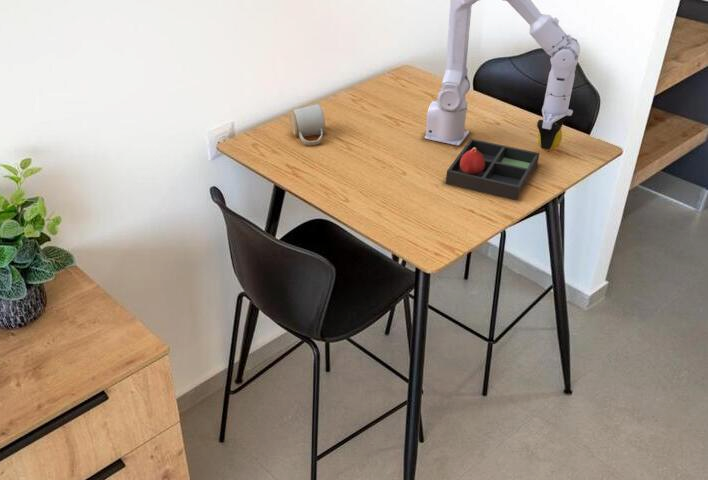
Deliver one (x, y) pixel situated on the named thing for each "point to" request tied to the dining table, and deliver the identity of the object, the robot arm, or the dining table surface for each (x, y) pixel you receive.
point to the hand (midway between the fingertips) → (548, 142)
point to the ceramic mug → (308, 123)
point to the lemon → (555, 143)
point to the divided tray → (496, 170)
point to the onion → (472, 162)
